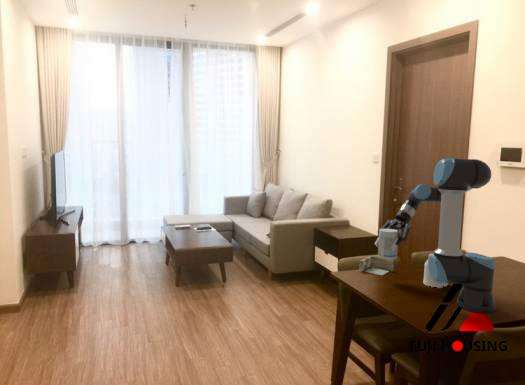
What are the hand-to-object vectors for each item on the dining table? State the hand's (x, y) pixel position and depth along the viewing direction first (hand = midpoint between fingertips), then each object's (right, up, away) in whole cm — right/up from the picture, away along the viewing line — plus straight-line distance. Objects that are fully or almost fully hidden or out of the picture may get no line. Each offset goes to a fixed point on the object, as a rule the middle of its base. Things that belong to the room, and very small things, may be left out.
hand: (383, 247), depth 217 cm
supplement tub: (+2, -6, +2) cm, 7 cm away
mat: (+1, -16, +16) cm, 22 cm away
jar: (+25, -19, -3) cm, 32 cm away
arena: (+1, -16, +16) cm, 22 cm away
